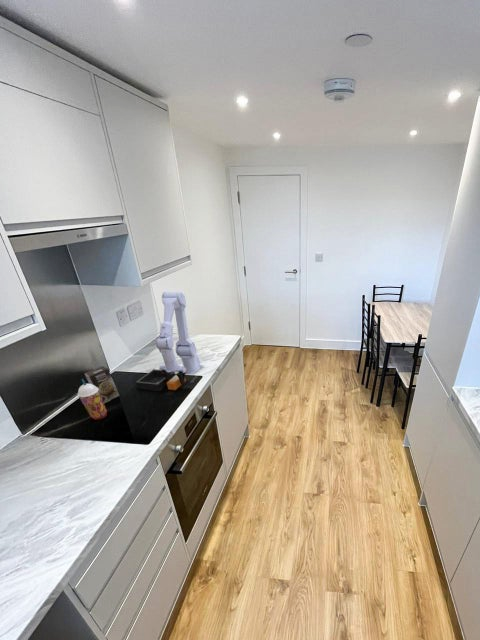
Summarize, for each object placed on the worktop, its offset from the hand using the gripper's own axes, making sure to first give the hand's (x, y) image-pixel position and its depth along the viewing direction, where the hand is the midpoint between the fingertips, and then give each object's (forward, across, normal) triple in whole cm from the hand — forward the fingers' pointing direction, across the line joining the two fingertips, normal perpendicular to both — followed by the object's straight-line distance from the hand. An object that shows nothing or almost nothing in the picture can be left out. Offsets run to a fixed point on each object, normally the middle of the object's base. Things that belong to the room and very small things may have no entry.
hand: (176, 383), depth 171 cm
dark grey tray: (+2, -12, 0) cm, 13 cm away
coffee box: (+2, -28, -18) cm, 34 cm away
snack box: (+2, 0, 0) cm, 2 cm away
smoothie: (+2, -20, -32) cm, 38 cm away
